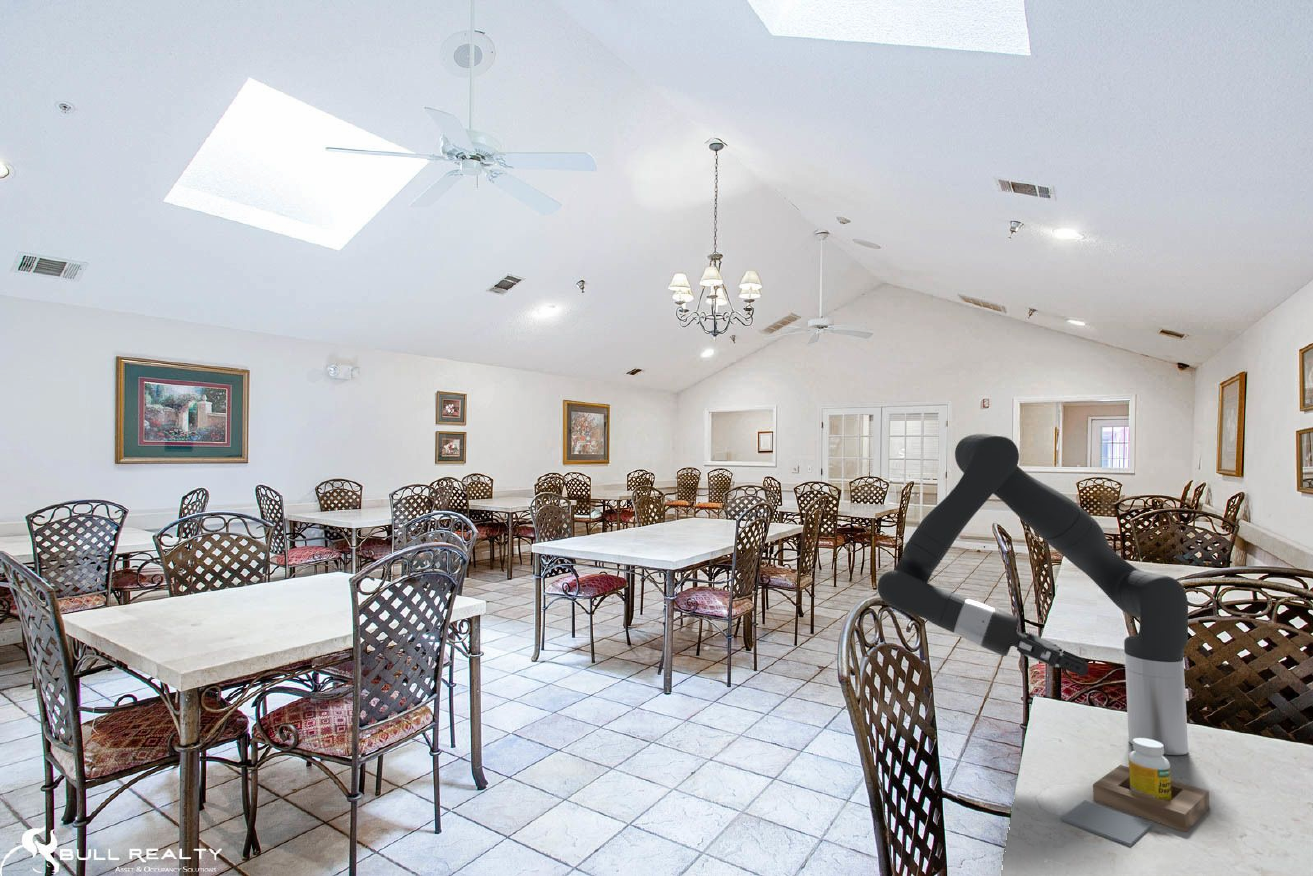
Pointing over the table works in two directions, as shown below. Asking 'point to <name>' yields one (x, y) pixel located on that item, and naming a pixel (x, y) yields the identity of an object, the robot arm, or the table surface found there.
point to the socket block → (1152, 800)
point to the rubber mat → (1107, 822)
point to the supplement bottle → (1149, 769)
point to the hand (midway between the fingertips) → (1085, 668)
